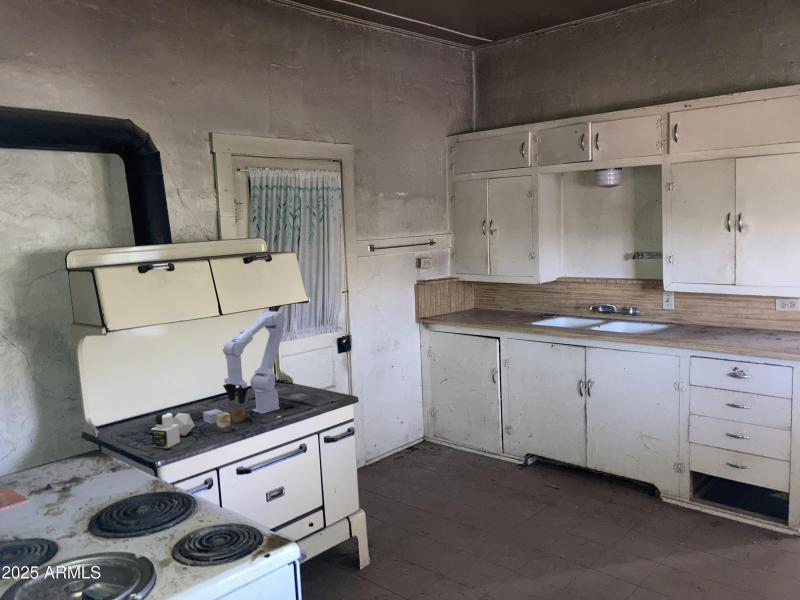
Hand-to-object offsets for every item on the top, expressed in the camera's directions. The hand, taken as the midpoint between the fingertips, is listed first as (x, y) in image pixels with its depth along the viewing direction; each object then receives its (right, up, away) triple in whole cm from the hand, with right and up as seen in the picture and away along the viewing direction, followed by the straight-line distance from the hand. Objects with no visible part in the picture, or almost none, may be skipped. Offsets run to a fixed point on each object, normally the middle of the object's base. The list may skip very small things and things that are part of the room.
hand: (236, 401), depth 273 cm
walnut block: (0, -8, +1) cm, 8 cm away
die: (-18, -11, -14) cm, 25 cm away
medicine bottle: (-20, -12, -26) cm, 35 cm away
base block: (-10, -8, +2) cm, 13 cm away
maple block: (-4, -9, -6) cm, 11 cm away
